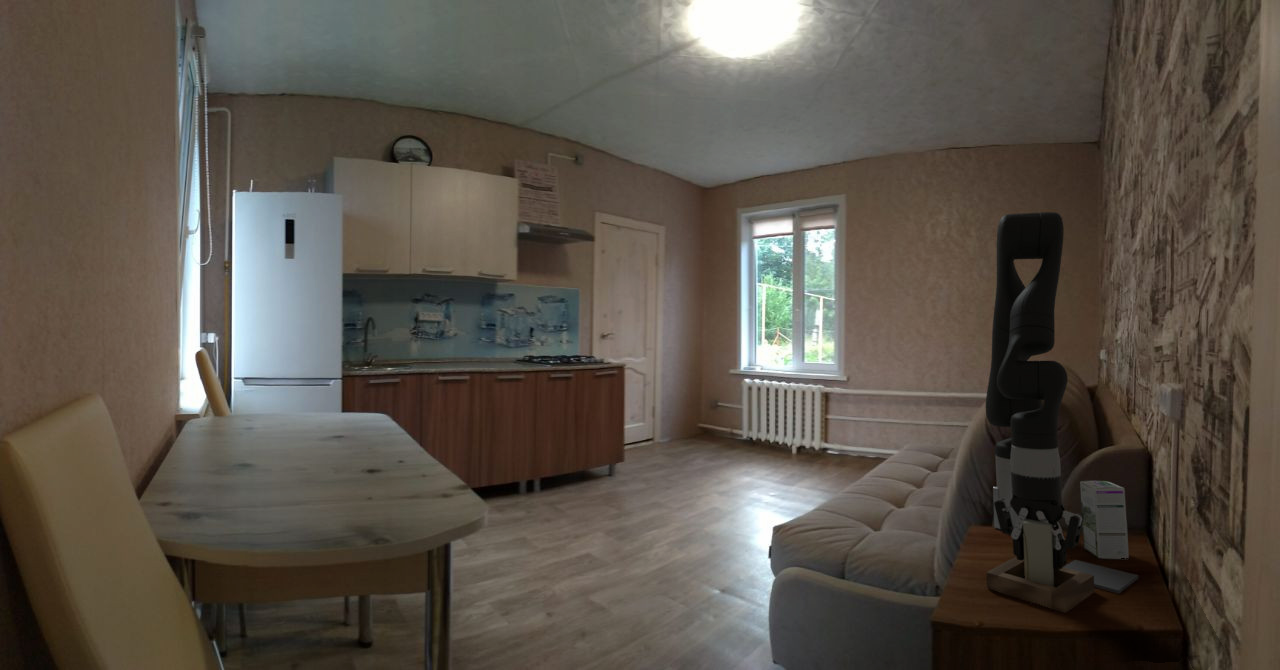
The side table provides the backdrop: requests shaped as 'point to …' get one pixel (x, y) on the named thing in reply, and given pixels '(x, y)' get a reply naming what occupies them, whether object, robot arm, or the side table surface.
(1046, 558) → the skincare box
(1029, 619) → the side table surface
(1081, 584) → the walnut collar
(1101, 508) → the syrup box
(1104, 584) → the rubber mat
